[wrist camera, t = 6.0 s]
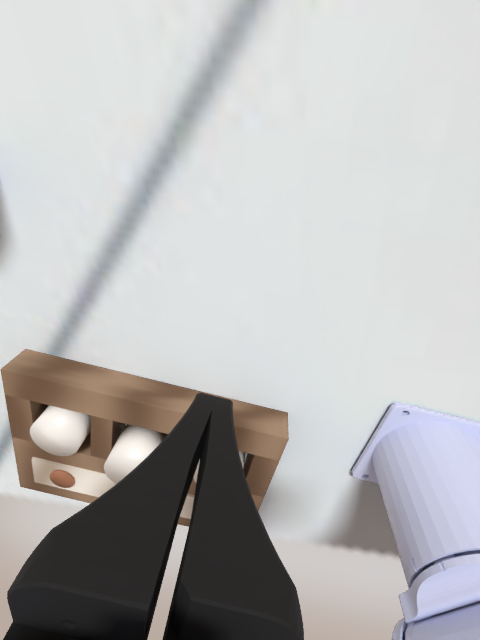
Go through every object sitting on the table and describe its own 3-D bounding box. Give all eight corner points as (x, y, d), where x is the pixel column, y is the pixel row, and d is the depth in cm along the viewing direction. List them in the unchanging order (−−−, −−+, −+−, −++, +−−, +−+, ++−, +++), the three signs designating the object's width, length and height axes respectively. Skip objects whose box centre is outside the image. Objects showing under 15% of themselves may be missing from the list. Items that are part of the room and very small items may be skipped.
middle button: (170, 428, 25) (157, 462, 22) (165, 459, 26) (152, 494, 24) (123, 416, 25) (104, 449, 22) (121, 448, 26) (103, 483, 24)
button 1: (99, 397, 26) (78, 427, 23) (98, 430, 27) (79, 460, 25) (53, 386, 26) (27, 415, 23) (55, 419, 27) (32, 449, 25)
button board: (287, 412, 25) (288, 443, 22) (248, 512, 31) (245, 545, 29) (25, 348, 25) (-4, 372, 22) (38, 462, 31) (17, 490, 28)
